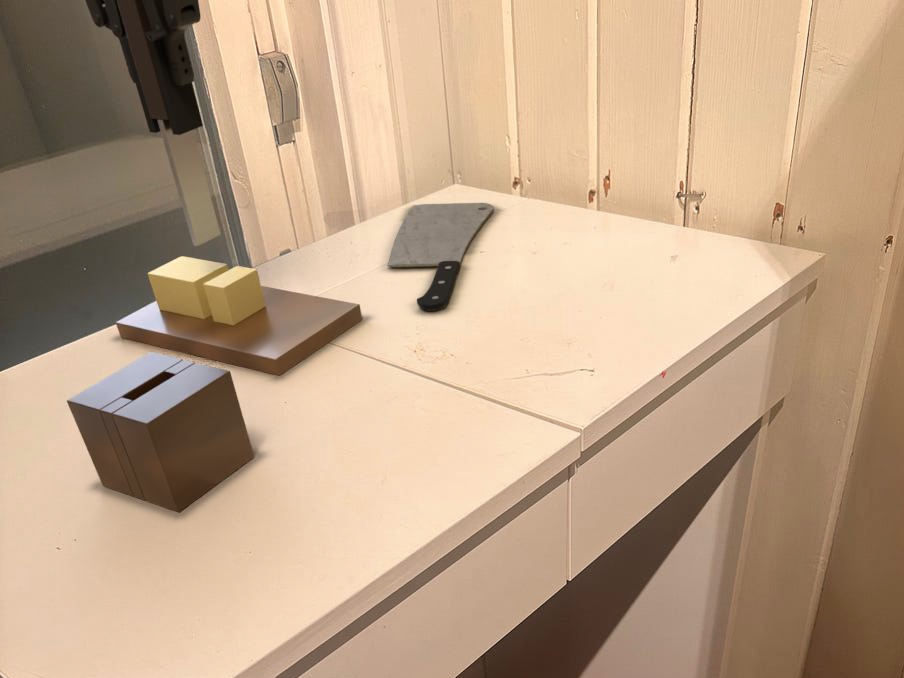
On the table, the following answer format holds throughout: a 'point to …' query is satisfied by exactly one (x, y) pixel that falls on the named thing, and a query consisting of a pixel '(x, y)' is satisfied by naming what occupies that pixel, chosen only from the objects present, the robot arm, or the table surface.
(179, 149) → the knife
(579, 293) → the table surface
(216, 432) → the knife block
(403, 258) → the cleaver
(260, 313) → the board
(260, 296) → the block
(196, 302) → the butter block
